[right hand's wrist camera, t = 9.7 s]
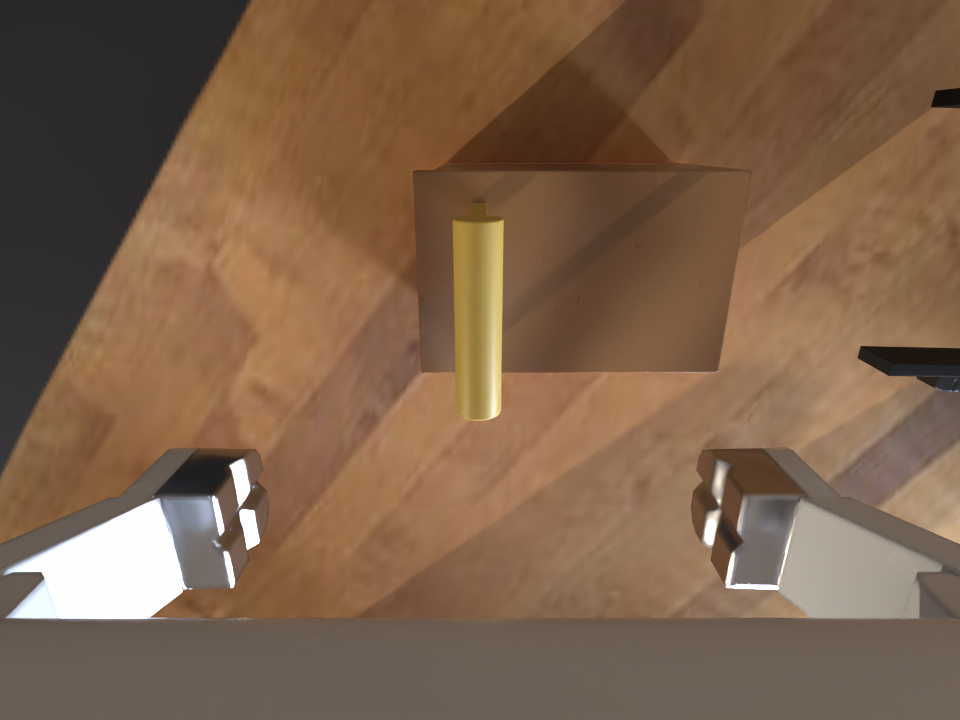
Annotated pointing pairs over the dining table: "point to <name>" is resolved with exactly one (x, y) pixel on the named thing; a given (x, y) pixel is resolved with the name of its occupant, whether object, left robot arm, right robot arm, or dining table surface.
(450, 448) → the dining table surface
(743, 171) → the lid
